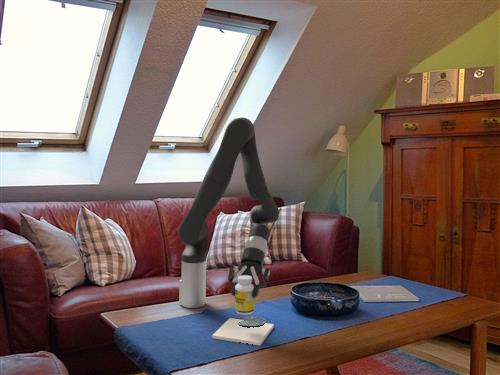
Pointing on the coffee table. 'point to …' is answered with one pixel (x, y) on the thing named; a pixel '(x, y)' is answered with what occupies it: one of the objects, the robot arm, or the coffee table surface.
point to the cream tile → (242, 332)
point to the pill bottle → (244, 295)
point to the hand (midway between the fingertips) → (243, 295)
